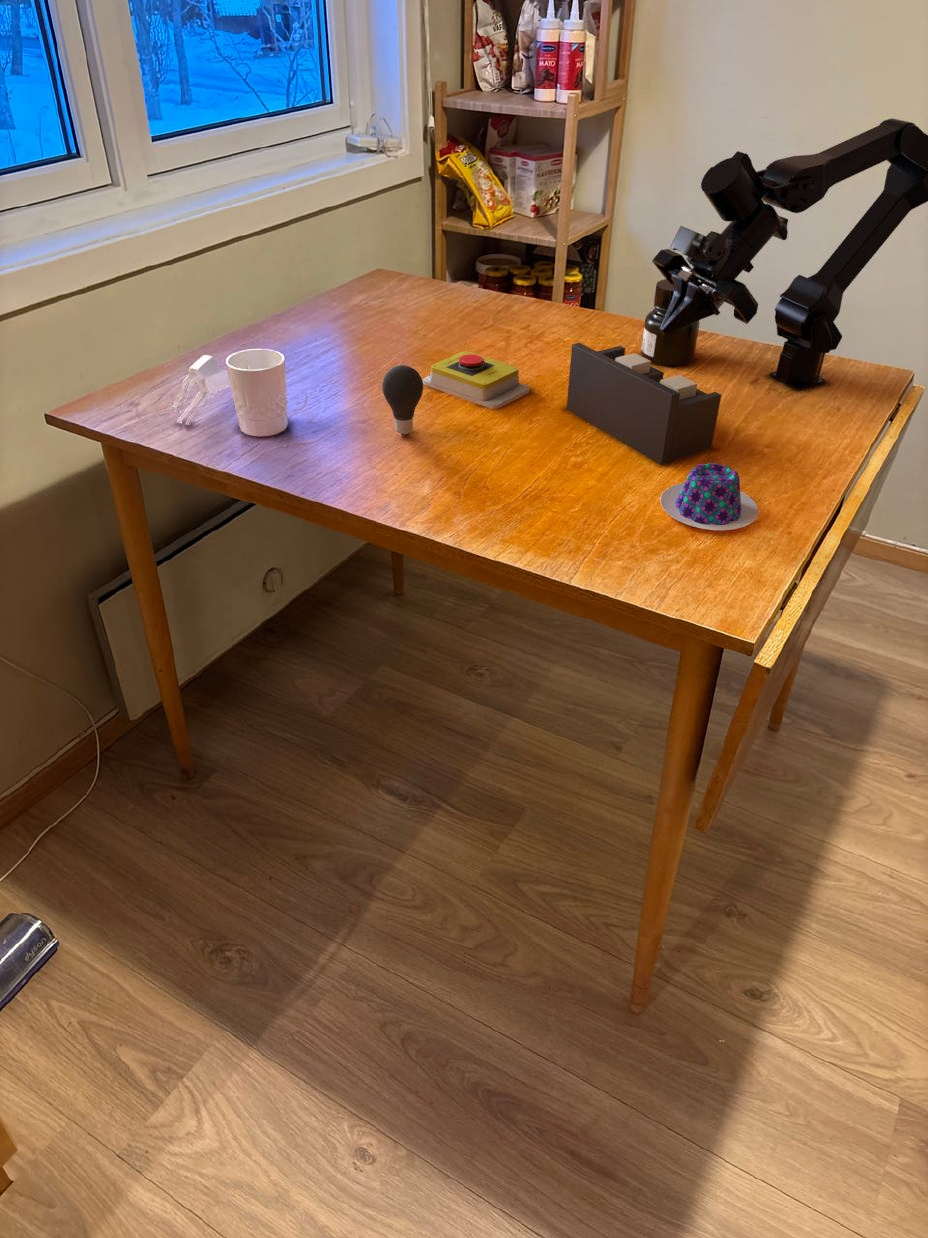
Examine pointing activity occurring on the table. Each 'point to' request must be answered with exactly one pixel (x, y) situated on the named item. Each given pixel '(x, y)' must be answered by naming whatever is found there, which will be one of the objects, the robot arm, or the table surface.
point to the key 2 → (681, 386)
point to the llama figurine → (202, 384)
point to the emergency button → (477, 380)
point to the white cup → (259, 391)
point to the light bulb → (403, 395)
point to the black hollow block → (638, 406)
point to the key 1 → (635, 362)
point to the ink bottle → (674, 345)
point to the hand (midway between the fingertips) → (662, 332)
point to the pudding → (710, 499)
